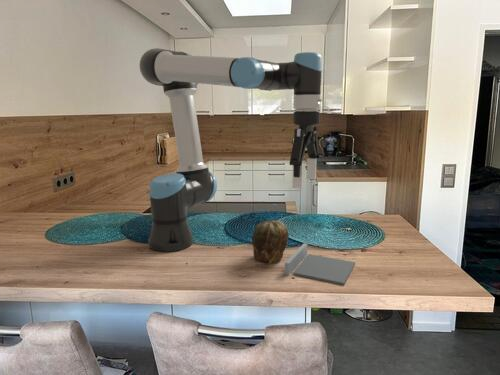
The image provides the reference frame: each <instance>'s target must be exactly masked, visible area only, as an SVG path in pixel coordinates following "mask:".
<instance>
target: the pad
mask: <svg viewBox="0 0 500 375" xmlns="http://www.w3.org/2000/svg"><path fill="white" fill-rule="evenodd" d="M355 265H356V262H355V261H350V260H345V259H341V258H340V259H338V258H333V257H326V256H321V255H316V254H311V253H309V254H307V255H306V256H305V257H304V259H303V260H302V261H301V262H300V263H299V264H298V265H297V267H296V268H295V269H294V270H293V271H292V275H293V276H298V277H299V276H300V277H302V278H303V277H304V278H308V279H313V280H317V281H322V282H326V283H332V284H336V285H341V286H345V284H346V282H347V281H348V278H349V276H350V274H351V273H352V271H353V269H354V267H355Z"/></svg>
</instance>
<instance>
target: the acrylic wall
mask: <svg viewBox="0 0 500 375" xmlns="http://www.w3.org/2000/svg"><path fill="white" fill-rule="evenodd" d="M308 245H309V244H308V243H305V242H304V243H302V244H301V245H300V247H299V248H298V249H297V250H296V251H295V252H294V253H293V254H291V256H290V257H289V258H288V259H287V260H286V261H285V262H284V275H285V276H289V275H291V274H292V273H293V272H294V271H295V270H296V269H297V268H298V266H299V265H300V264H301V263H302V262H303V261H304V259H305V258H306V257H307V256H308Z"/></svg>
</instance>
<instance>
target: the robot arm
mask: <svg viewBox="0 0 500 375" xmlns="http://www.w3.org/2000/svg"><path fill="white" fill-rule="evenodd" d="M293 58H294V59H293V61H289V62H273V61H267V60H261V59H257V58H255V57H250V56H249V57H248V56H246V57H244V56H243V57H226V56H207V55H206V56H205V55H192V54H190V53H187V52H183V51H175V50H171V49H164V48H151V49H147V50H146V51H145V52H144V53H143V54H142V55H141V57H140V60H139V65H138V66H139V71H140V74H141V75H142V77H143V78H144V80H146V82H148V83H149V84H151V85H153V86H154V85H155V86H161V87H162V88H163V95H165V96H167V98H169V104H170V105H169V106H170V112H171V120H172V127H173V130H174V136H175V144H176V151H177V157H178V163H179V166H178V167H177V169H176V171H175V173H168V174H161V175H158V176H156V177H154V178H153V179H152V180H151V181H150V182H149V192H148V194H149V199H150V213H151V223H152V224H151V227H150V231H149V236H148V239H147V240H148V241H147V242H148V248H150V249H151V250H152V251H155V252H162V253H163V252H165V253H166V252H169V253H170V252H176V251H181V250H184V249H187V248H189V247H191V246H192V245H193V244H194V235H193V232H192V230H191V229H192V228H190V225H189V222H188V212H187V211H188V209H191V208H194V207H196V206H200V205H203V204H206V203H207V202H209V201H210V200H212V199H213V198H214V197H215V195H216V193H217V189H218V182H217V179H216V176H214V174H213V173H212V172H211V171H210V170H209V166H208V165H207V164H205V162H204V158H203V152H202V151H203V150H202V144H201V136H200V131H199V130H200V129H199V123H198V115H197V109H196V101H195V94H196V93H197V92H198V86H197V85H199V84H201V85H203V84H204V85H212V86H213V85H214V86H223V87H232V88H233V87H235V88H241V89H244V90H245V89H246V90H247V89H248V90H251V89H253V90H254V89H255V90H259V91H269V92H271V91H280V90H281V91H282V90H283V91H284V90H293V102H292V104H293V106H292V107H293V109H294V110H295V111H294V112H293V114H292V115H293V118H292V119H293V120H292V122H293V125H297V126H299V127H298V128H295V129H294V135H293V141H292V149H291V155H290V159H289V166H292V189H299V190H300V189H301V190H302V189H303V184H304V183H303V182H304V180H303V179H304V178H303V177H304V165H303V161H304V158H305V153H306V152H307V156H308V158H307V162H306V165H307V166H306V179H307V180H314V181H315V180H316V179H317V159H320V152H319V151H320V150H319V144H318V135H317V134H318V133H317V132H318V127H317V126H318V125H320V123H321V112H320V109H321V102H322V101H323V99H322V98H321V91H322V90H321V89H322V72H323V69H322V65H323V64H322V55H321V53H318V52H313V51H309V52H308V51H307V52H304V51H303V52H299V53H296V54H295V55H294V57H293ZM316 125H317V126H316Z"/></svg>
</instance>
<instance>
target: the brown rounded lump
mask: <svg viewBox="0 0 500 375" xmlns="http://www.w3.org/2000/svg"><path fill="white" fill-rule="evenodd" d="M254 228H255V229H254V231H253V234H252V238H251V243H252V246H253V252H252V253H253V259H254V261H256V262H257V263H259V264H260V263H261V264H265V265H269V264H276V263H279V262H281V260H282V259H283V256H284V252H285V250H286V248H287V246H288V243H289V238H290V237H289V230H288V227H287V226H286V224H285V223H283V222H282V221H279V220H274V219H273V220H271V221H270V220H265V221H261V222H259V223H258V224H256V225H255V227H254Z"/></svg>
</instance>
